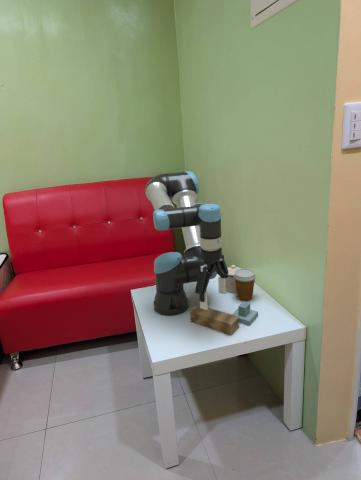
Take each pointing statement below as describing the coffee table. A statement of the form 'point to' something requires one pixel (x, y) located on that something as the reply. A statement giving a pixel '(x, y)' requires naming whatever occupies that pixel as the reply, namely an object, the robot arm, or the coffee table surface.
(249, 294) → the disposable coffee cup
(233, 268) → the teacup with lid
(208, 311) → the batten
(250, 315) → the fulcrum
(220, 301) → the coffee table surface
